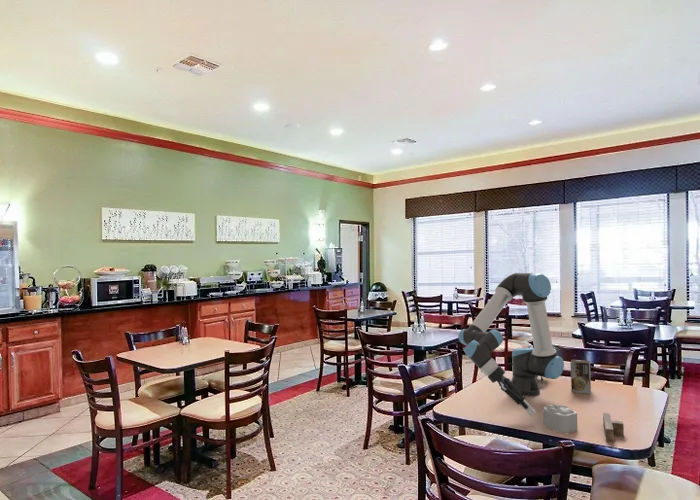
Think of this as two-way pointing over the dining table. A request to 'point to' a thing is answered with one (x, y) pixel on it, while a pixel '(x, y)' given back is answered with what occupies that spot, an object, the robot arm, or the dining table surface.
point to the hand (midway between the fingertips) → (533, 413)
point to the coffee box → (580, 376)
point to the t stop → (612, 427)
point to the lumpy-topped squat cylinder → (560, 418)
